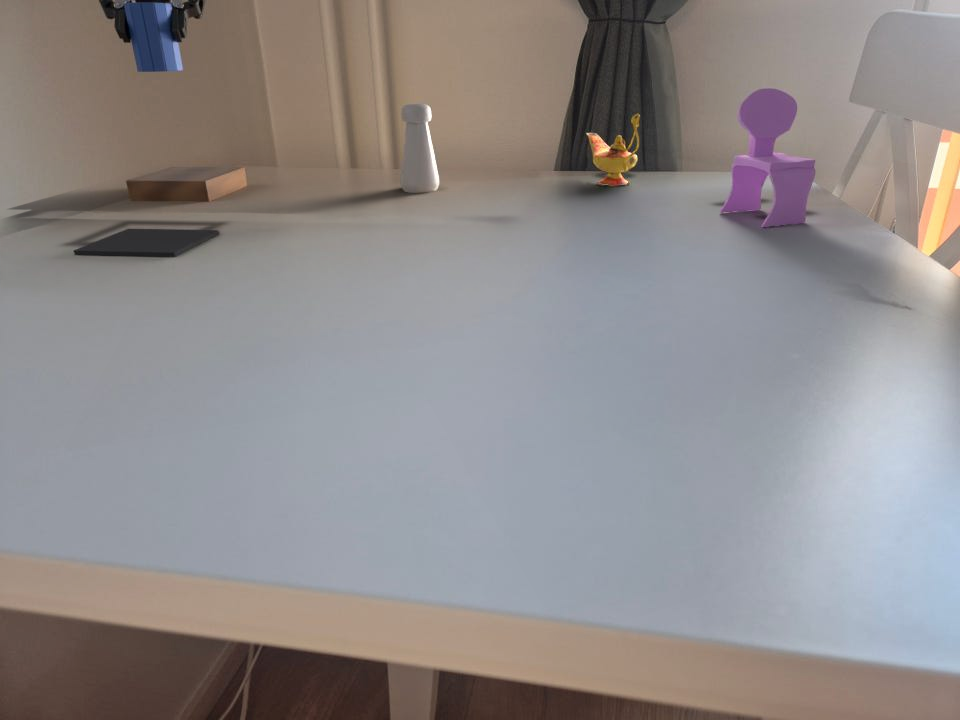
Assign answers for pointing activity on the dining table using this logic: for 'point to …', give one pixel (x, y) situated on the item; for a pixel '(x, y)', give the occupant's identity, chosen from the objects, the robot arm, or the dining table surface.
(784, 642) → the dining table surface
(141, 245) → the mat
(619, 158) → the magic lamp
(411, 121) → the salt shaker
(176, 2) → the robot arm
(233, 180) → the platform
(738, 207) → the toy chair
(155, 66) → the blue faceted cup
